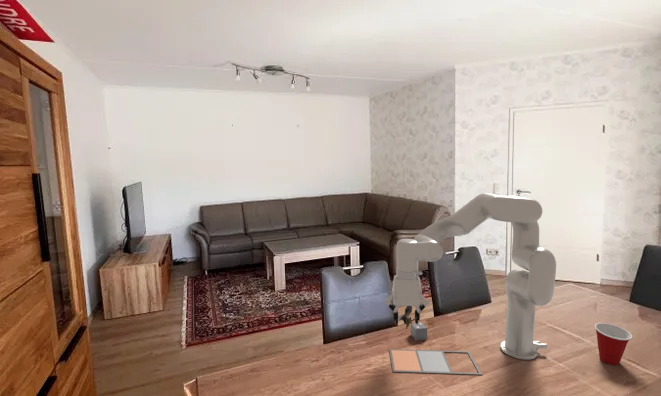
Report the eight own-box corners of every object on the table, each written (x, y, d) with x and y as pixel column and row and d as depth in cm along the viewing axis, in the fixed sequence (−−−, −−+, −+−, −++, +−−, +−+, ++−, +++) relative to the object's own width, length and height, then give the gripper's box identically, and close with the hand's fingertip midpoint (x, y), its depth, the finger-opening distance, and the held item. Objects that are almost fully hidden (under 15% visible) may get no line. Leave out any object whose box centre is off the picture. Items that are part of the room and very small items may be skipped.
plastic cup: (619, 373, 125) (622, 340, 124) (585, 357, 135) (588, 326, 133) (635, 364, 130) (638, 332, 129) (601, 350, 140) (604, 320, 138)
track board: (469, 352, 139) (469, 351, 139) (482, 375, 125) (482, 374, 125) (389, 349, 141) (389, 349, 141) (392, 372, 127) (392, 371, 127)
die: (421, 333, 154) (422, 322, 153) (427, 339, 149) (427, 327, 148) (410, 334, 153) (410, 323, 152) (415, 340, 148) (415, 328, 147)
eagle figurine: (422, 325, 129) (416, 311, 138) (412, 311, 127) (406, 297, 136) (404, 336, 130) (399, 321, 139) (393, 322, 128) (389, 307, 137)
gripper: (429, 270, 133) (428, 317, 135) (381, 270, 134) (381, 316, 136) (434, 277, 125) (433, 327, 127) (383, 277, 126) (383, 326, 129)
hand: (406, 321), depth 132 cm, fingers closed on eagle figurine, 6 cm apart
